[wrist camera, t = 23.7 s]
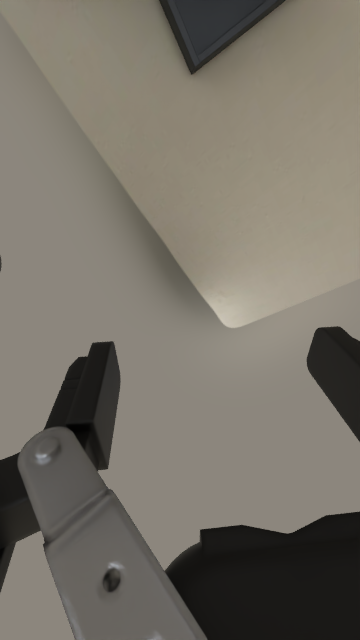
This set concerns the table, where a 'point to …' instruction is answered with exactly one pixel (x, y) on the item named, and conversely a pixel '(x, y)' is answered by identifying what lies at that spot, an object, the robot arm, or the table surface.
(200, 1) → the dark gray square tray
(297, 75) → the table surface
